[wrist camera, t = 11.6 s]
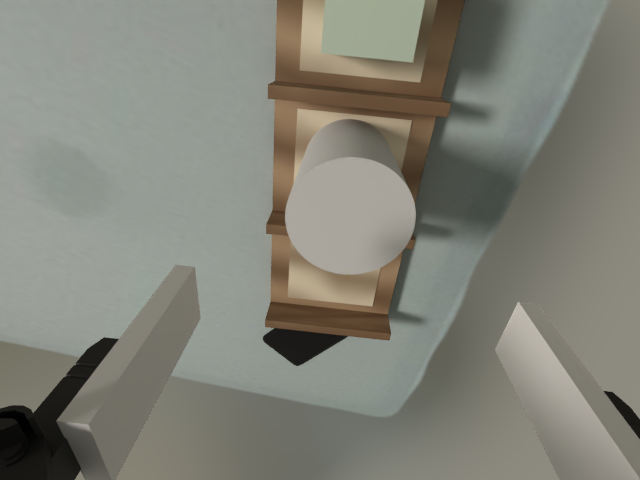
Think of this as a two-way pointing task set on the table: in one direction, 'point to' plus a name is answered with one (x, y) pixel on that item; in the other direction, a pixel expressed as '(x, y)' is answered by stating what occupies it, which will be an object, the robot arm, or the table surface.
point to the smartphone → (300, 343)
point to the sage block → (372, 28)
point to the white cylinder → (349, 201)
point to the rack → (336, 104)
